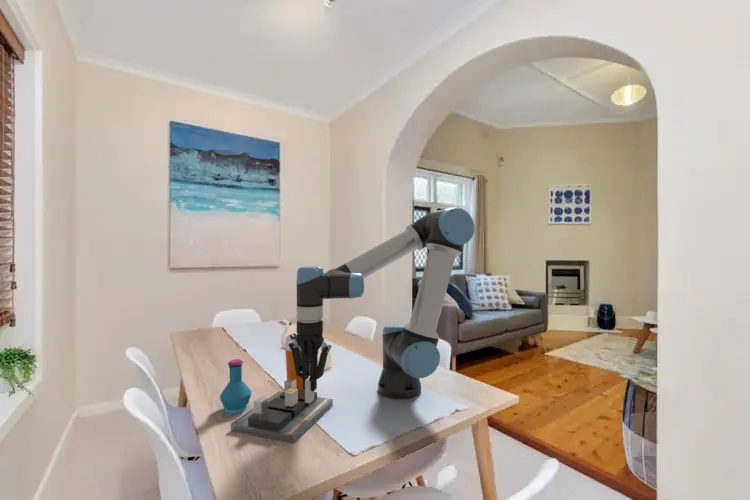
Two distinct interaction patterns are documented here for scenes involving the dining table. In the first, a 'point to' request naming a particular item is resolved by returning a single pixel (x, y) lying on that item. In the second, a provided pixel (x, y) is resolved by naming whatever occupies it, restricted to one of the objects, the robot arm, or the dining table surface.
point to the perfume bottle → (235, 390)
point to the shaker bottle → (292, 362)
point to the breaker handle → (291, 397)
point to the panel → (288, 427)
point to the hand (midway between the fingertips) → (309, 401)
